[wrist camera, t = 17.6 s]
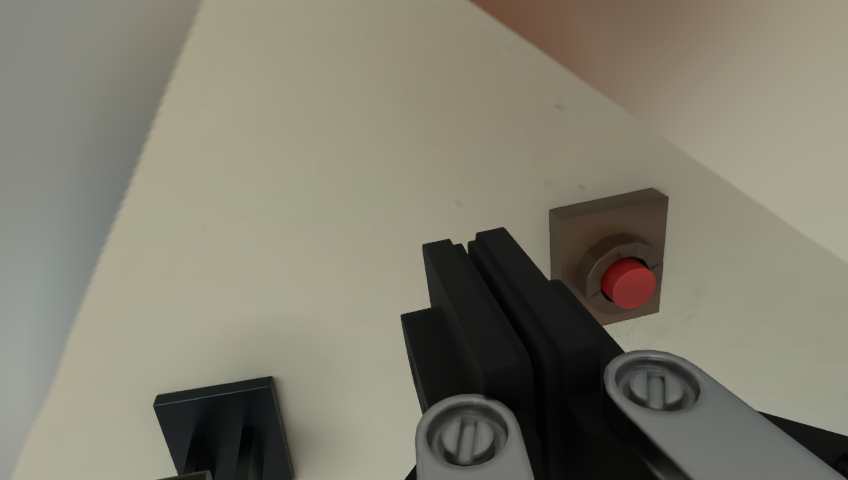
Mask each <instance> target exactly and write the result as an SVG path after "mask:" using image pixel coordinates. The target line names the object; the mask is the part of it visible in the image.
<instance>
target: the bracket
mask: <svg viewBox="0 0 848 480" xmlns="http://www.w3.org/2000/svg"><path fill="white" fill-rule="evenodd" d="M153 407H154V410H155V413H156V415H157V418H158V421H159V424H160V426H161V429H162V432H163V435H164V437H165V440H166V443H167V446H168V448H169V451H170V454H171V457H172V459H173V462H174V465H175V468H176V470H177V473H178V476H179V475H184V474H190V473H195V472H200V471H205V470H209V471H210V473H211V476H212V480H294V473H293V469H292V465H291V460H290V456H289V451H288V447H287V442H286V438H285V433H284V429H283V424H282V420H281V416H280V411H279V407H278V402H277V398H276V393H275V389H274V384H273V380H272V377H265V378H259V379H253V380H247V381H241V382H235V383H229V384H223V385H217V386H211V387H205V388H199V389H193V390H188V391H182V392H176V393H170V394H164V395H158V396H156V399H155V402H154V404H153Z"/></svg>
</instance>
